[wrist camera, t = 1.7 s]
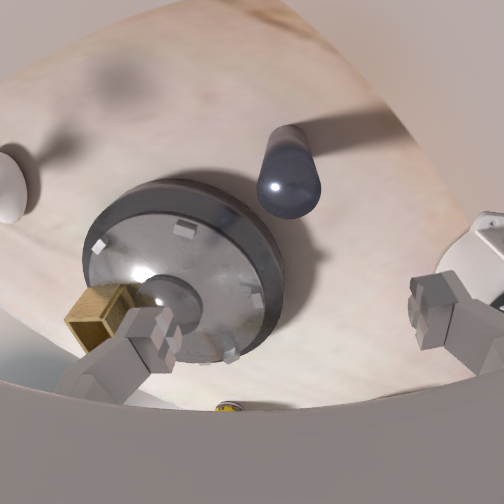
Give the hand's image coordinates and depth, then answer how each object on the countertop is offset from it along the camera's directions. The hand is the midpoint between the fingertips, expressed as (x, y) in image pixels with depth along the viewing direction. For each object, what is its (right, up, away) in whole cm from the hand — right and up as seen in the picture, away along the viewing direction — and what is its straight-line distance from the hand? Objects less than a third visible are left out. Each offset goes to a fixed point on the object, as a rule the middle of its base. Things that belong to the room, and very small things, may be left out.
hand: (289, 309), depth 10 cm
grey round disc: (-11, -3, +28) cm, 30 cm away
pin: (+2, +13, +21) cm, 25 cm away
